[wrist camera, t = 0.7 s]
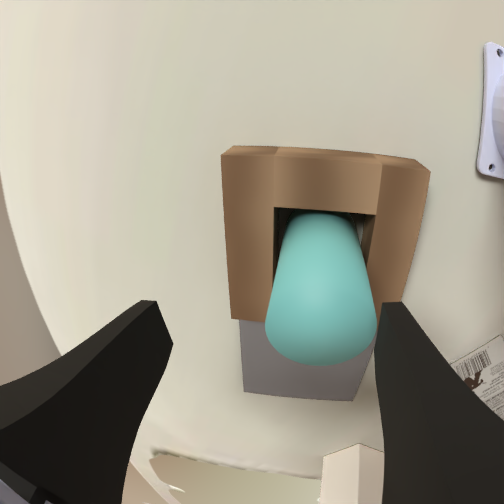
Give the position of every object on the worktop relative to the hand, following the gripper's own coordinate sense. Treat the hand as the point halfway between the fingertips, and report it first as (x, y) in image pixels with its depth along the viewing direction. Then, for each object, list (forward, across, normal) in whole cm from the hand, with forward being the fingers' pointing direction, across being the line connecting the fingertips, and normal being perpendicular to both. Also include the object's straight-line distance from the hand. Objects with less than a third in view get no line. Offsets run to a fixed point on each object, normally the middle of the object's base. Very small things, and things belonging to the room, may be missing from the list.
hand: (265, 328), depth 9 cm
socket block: (+9, -2, +2) cm, 10 cm away
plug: (+9, -2, +2) cm, 10 cm away
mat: (+9, 0, +12) cm, 16 cm away
